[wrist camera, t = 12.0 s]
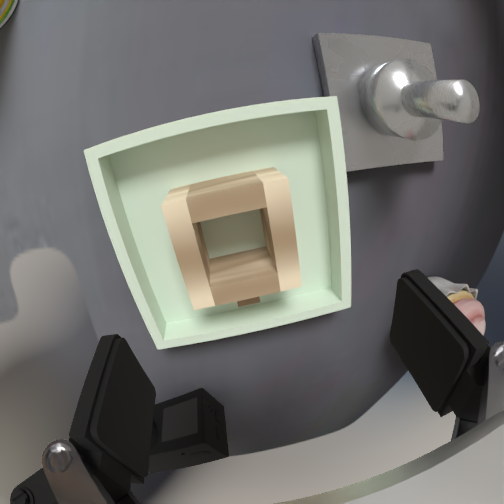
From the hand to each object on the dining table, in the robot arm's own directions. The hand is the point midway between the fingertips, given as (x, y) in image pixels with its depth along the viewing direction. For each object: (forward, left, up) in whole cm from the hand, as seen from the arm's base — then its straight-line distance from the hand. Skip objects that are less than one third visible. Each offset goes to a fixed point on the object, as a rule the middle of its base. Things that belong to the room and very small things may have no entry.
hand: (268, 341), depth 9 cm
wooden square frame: (0, 0, -12) cm, 12 cm away
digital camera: (+11, +20, -13) cm, 27 cm away
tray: (0, +1, -13) cm, 13 cm away
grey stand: (-13, -7, -13) cm, 19 cm away
